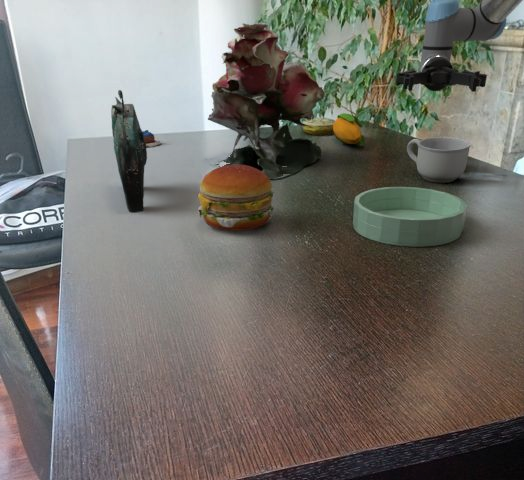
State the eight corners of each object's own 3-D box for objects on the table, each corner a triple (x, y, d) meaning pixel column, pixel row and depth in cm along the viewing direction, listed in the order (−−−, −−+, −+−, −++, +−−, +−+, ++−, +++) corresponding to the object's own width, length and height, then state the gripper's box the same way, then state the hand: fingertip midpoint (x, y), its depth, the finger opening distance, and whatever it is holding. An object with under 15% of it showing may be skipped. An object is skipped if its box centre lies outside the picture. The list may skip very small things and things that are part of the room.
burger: (266, 238, 96) (266, 178, 91) (189, 233, 98) (184, 175, 93) (279, 213, 107) (279, 158, 102) (209, 209, 109) (206, 155, 104)
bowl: (457, 213, 106) (461, 189, 103) (467, 250, 90) (472, 222, 88) (356, 208, 109) (358, 184, 107) (349, 242, 94) (350, 216, 91)
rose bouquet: (331, 154, 147) (337, 20, 131) (281, 182, 125) (282, 25, 109) (244, 145, 157) (240, 20, 141) (184, 170, 135) (172, 24, 119)
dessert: (125, 143, 157) (131, 123, 157) (136, 153, 164) (141, 134, 164) (151, 147, 155) (156, 127, 155) (161, 158, 162) (166, 137, 162)
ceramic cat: (120, 185, 124) (106, 85, 114) (150, 183, 125) (139, 84, 115) (120, 214, 107) (103, 99, 97) (154, 211, 109) (141, 97, 98)
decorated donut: (343, 131, 173) (344, 118, 171) (325, 137, 165) (326, 123, 163) (314, 127, 178) (315, 115, 176) (295, 133, 171) (296, 120, 169)
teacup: (474, 180, 125) (481, 142, 120) (441, 189, 119) (448, 149, 115) (425, 168, 134) (430, 132, 130) (392, 175, 129) (396, 138, 125)
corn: (354, 108, 162) (373, 120, 145) (354, 136, 166) (373, 151, 149) (328, 110, 162) (345, 123, 145) (329, 138, 166) (345, 154, 149)
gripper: (485, 90, 143) (498, 104, 125) (384, 88, 147) (383, 101, 129) (491, 56, 139) (506, 66, 121) (387, 55, 143) (387, 64, 125)
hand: (442, 84), depth 125 cm, fingers open, 13 cm apart
